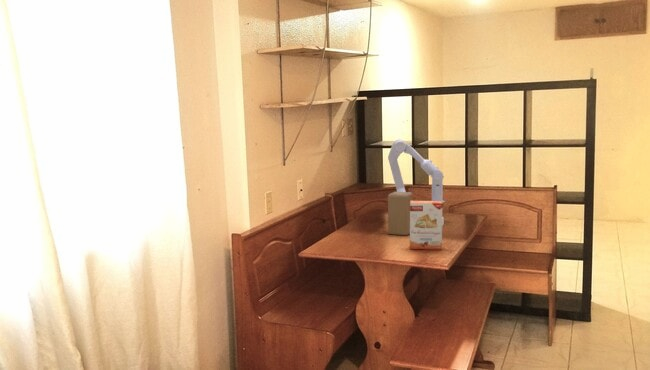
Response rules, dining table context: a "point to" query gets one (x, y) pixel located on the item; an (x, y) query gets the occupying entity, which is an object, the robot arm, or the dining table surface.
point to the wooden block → (399, 213)
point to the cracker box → (426, 225)
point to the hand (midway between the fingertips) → (437, 217)
